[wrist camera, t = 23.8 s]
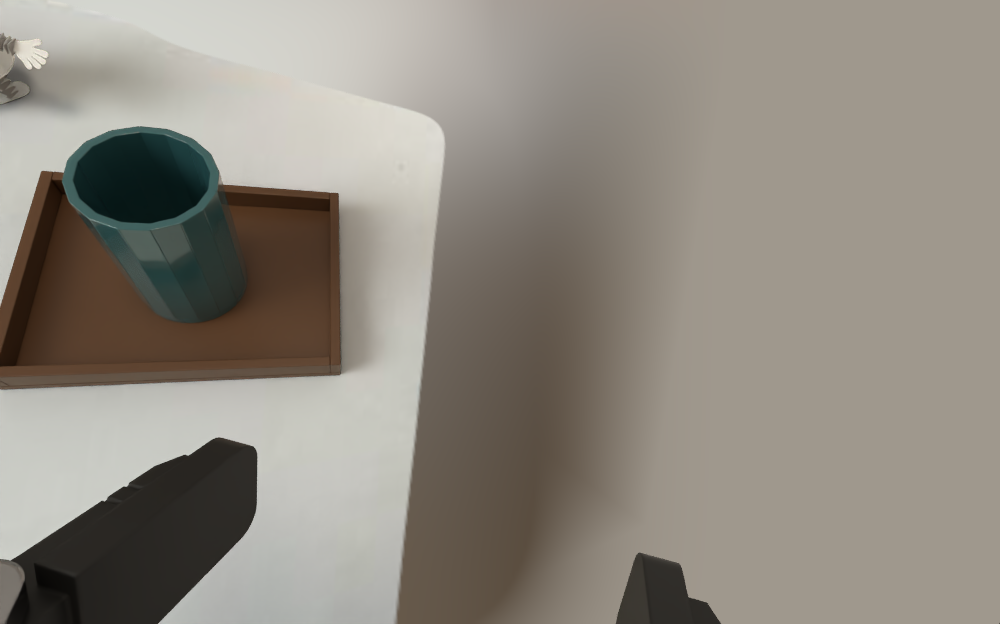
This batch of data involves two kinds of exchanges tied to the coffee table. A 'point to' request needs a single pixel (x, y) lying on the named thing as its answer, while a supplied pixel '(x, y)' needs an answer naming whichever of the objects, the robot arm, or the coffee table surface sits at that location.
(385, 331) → the coffee table surface
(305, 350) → the tray
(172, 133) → the tumbler
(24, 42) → the toy figure
